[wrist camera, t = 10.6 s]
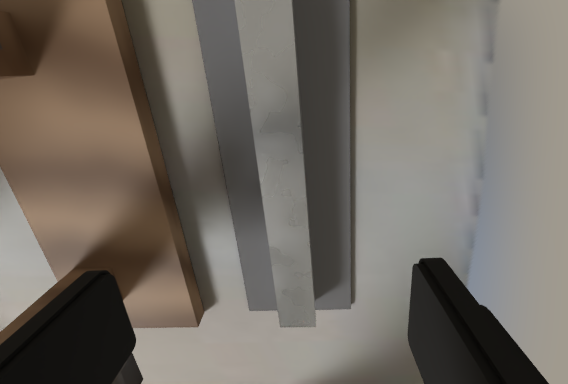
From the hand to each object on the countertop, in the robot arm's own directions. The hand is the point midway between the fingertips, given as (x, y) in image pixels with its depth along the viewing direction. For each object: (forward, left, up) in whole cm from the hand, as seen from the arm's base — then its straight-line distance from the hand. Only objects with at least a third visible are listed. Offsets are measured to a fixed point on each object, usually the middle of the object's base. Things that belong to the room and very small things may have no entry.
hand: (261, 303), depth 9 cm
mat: (+1, 0, -11) cm, 11 cm away
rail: (+1, 0, -11) cm, 11 cm away
